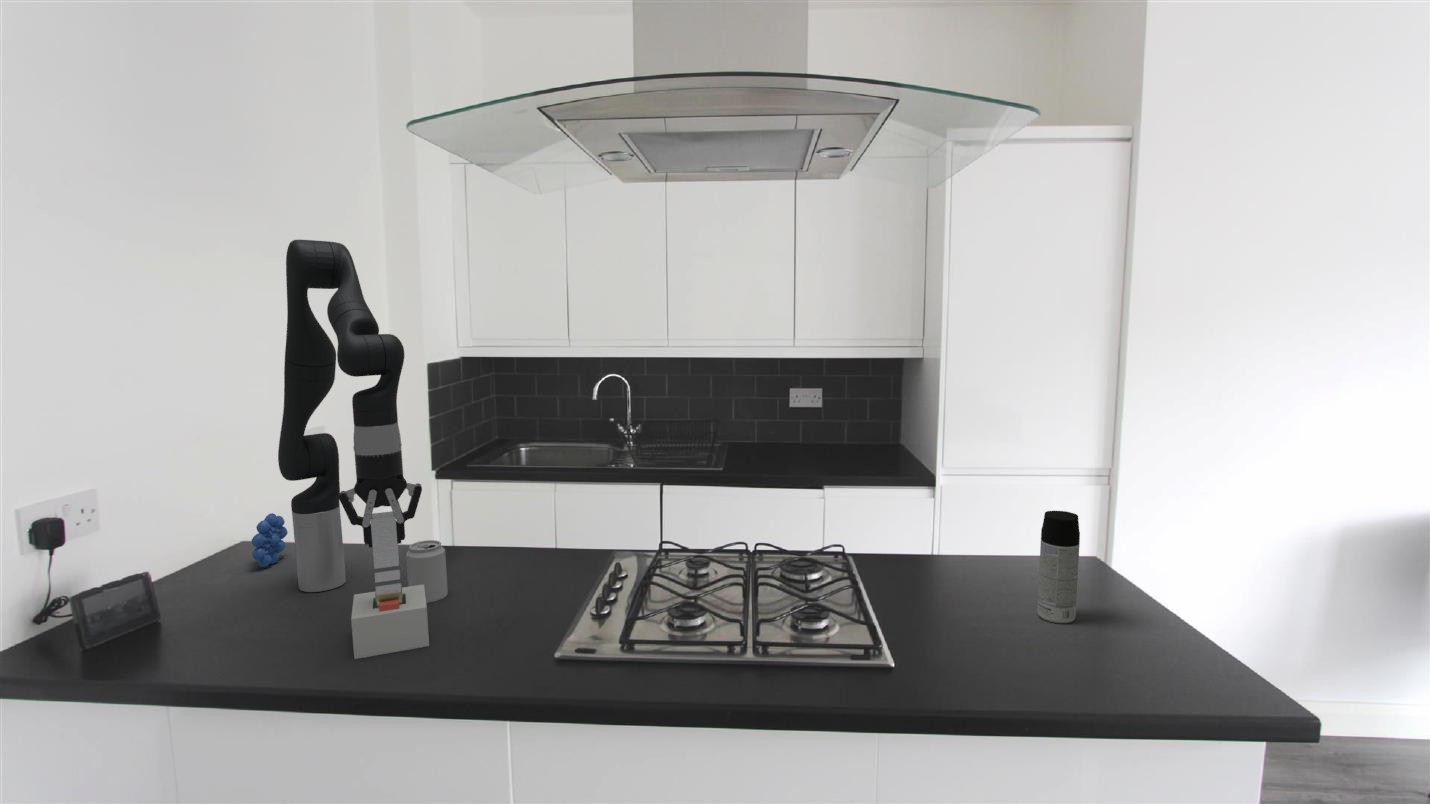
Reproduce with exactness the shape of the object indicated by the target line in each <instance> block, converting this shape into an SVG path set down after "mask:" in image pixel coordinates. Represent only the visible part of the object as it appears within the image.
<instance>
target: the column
mask: <svg viewBox="0 0 1430 804" xmlns="http://www.w3.org/2000/svg"><path fill="white" fill-rule="evenodd" d="M396 521H397V520H396V516H395V515H394V513H393V511H385V512H384V511H383V512H375V513H373V512H372V516H371V521H370V522H371V532H372V545H373V547H372V557H373V562H372V563H373V564H372V571H373V572H372V573H373V574H374V580H373V581H374V583H373V585H374V587H375V588H374V589H375V591H374V592H375V601H377V608H379V602H386V601H392V600H399V604H402V597H403V596H402V588H403V584H402V572H401V558H399V544H397V530H396Z"/></svg>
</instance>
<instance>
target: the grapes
mask: <svg viewBox="0 0 1430 804" xmlns="http://www.w3.org/2000/svg"><path fill="white" fill-rule="evenodd" d="M285 523H286V521H285V519H284V517H283V516H281V515H276V514H275V513H268V515H266V516H265V518H264V519H263V520H261V521H259V522H258V523H257V525H256V526H255V527H256V531H257V532H258V533H256V534H255V535H253V537H252V538H251V543H252V546H254V547H255V549H254V550H253V551H252V553H251V554H252V555H251V556H252V558H253V560H255V561H257V564H258V565H259V566H260V568H267V566H269V565H274V564H276V563H277V562H278V560H279V559H280V553H282V552H283V551H284V550H285V548H286V547H287V546H286V543H285V541H284V539H285V538H286V536H287V535H288V533H289V531H288V530H287V528H286V527H285V526H284V524H285Z"/></svg>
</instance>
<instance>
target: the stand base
mask: <svg viewBox="0 0 1430 804" xmlns="http://www.w3.org/2000/svg"><path fill="white" fill-rule="evenodd" d="M402 596H403V597H402V604H399V600H392V601H386V602H379V608H377V601H375V591H369V592H363V593H357V594H353V599H352V600H353V602H352V608H351V610H352V611H351V617H350V621H351V622H350V623H351V633H352V647H353V658H354V660H356V659H357V660H358V659H362V658H363V659H364V658H368V657H374V656H380V655H385V654H386V655H387V654H391V653H397V652H403V651H409V650H415V649H420V648H425V647H426V648H427V647H430V639H429V638H430V636H429V622H428V608H427V603H426V598H425V590H424V585H417V586H410V587H408V586H404V587H403V586H402Z"/></svg>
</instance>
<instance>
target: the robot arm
mask: <svg viewBox="0 0 1430 804" xmlns="http://www.w3.org/2000/svg"><path fill="white" fill-rule="evenodd" d="M285 258H286V259H285V266H286V267H285V275H286V276H285V277H286V279H285V280H286V282H285V283H286V303H287V304H286V306H287V307H286V308H287V309H286V310H287V313H286V314H287V323H286V335H285V338H286V339H285V349H284V351H285V352H284V368H283V370H284V373H283V378H284V380H283V381H284V382H283V384H284V386H283V411H282V419H281V428H280V434H279V442H278V451H277V454H278V455H277V463H278V468H279V471H280V474H281V476H282V478H284V479H285V480H286V481H292V482H293V481H301V480H303V481H304V480H310V479H315V478H316V479H315V480H314V481H313V483H312V484H311V485H310V486H309V487H308V488H305V489H304V490H303V491H301V492H299V493H298V494H296V495H295V496H293V497H292V499H291V501H290V502H291V503H290V506H291V508H290V509H291V515H292V517H291V519H292V528H293V539H294V549H295V560H296V572H297V574H296V575H297V582H298V584H297V585H298V590H300V591H302V592H305V593H317V592H324V591H325V592H326V591H330V590H333V589H336V588H339V587H341V586H343V585H344V584H345V583H346V582H347V581H346V579H347V578H346V576H347V575H346V567H345V566H346V565H345V552H344V541H343V529H342V528H343V527H342V519H341V517H342V516H341V505H342V508H343V510H344V512H345V514H346V516H347V518H348V520H349V523H350V524H351V525H352V526H360V527H362V533H363V534H362V535H363V543H364V545H365V546H366V545H368V548H373V545H372V532H371V516H372V514H373V511H374V509H376V508H377V509H378V508H380V507H390V508H391V510H392V511H393V513H394V515H395V516H396V530H397V544H398V545H400V544H402V541H405V538H406V532H405V531H406V529H405V523H406V521H408V520H411V519H413V518H415V516H416V512H417V508H418V505H419V501H420V498H421V494H422V491H423V487H422V484H421V483H410V482H407V480H406V479H405V476H404V468H403V453H402V452H403V451H402V439H401V438H402V437H401V433H400V427H399V417H398V406H397V405H398V404H397V401H398V399H397V398H398V389H399V384H400V378H401V374H402V370H403V366H404V362H405V347H404V345H403V343H402V341H401V340H400V339H399V337H397V336H396V335H394V334H392V333H379V332H380V328H379V327H380V326H379V324H378V322H377V320H376V318H375V316H374V314H373V313H372V311H371V309H370V307H369V306H368V304H367V302H366V300H365V297H364V294H363V289H362V287H361V286H362V285H361V283H360V279H359V276H358V271H357V270H356V266H355V262H354V259H353V257H352V254H351V253H350V251H349V249H348V248H347V246H346V245H344V244H343V243H340V242H336V241H329V240H327V241H325V240H315V239H314V240H313V239H294V240H292V241H290V242H289V244H288V246H287V250H286V257H285ZM309 289H319V290H322V289H323V290H335V289H336V291H335V292H334V294H332V296H331V298H330V299H329V302H328V304H327V309H326V310H327V311H326V313H327V318H328V322H329V323H330V325H331V327H332V328H331V329H333V332H334V333H335V335H336V339H337V349H336V348H335V345H334V344H333V342H332V340H331V338H330V337H329V335H328V334H327V332H326V331H325V329H324V328H323V327H322V325H321V324H320V322H319V320H318V319H317V317H316V315H314V312H313V310H312V308H311V306H310V303H309V302H310V301H309V297H308V290H309ZM336 350H337V351H336ZM337 364H338V367H339V369H340V370H341V371H342V372H343V373H344V374H345V375H347V376H350V377H356V378H358V377H369V376H370V377H371V376H380V377H379V380H378V381H377V383H376V384H375V385H374V386H371V387H369V388H365V389H362V390H359V391H357V392H355V393H354V394H353V395H352V400H351V401H352V403H351V404H352V406H351V407H352V417H353V425H354V426H353V451H354V452H353V453H354V463H355V465H354V466H355V475H356V476H355V477H356V478H355V479H356V482H355V484H354V487H353V488H350V489H348V490H341V486H340V485H341V483H340V456H339V455H340V454H339V448H338V444H337V441H336V439H335V437H334V436H333V435H332V434H331V433H326V432H323V433H313V434H306V435H305V432H306V428H307V425H308V423H309V420H310V419H311V417H312V416H313V414H314V412H315V411H316V410H317V408H318V407H319V406H320V404H321V403H323V401H324V399H325V398H326V397H327V396H328V394H329V392H331V390H332V388H333V386H334V383H335V379H336V368H337V367H336V365H337ZM405 490H407V491H408V493H407V494H408V496H409V497H410V501H409V503H408V507H407V509H406V510H405V511H404V512H403V510H402V508H401V504H400V501H399V499H400V498H401V496H402V494H403V493H404V492H405ZM355 495H357V496H358V497H359V499H360V500H362V502H363V503H365V508H364V513H363V516H360V515H358V513H357V510H356V509H355V506H354V505H353V503H354V501H355ZM340 504H341V505H340Z"/></svg>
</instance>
